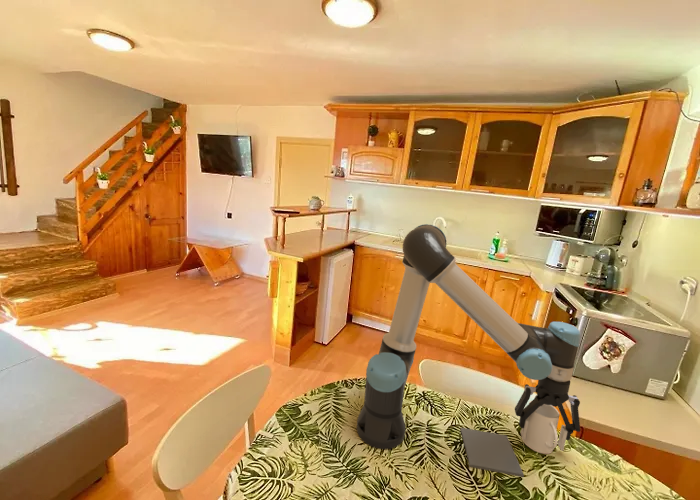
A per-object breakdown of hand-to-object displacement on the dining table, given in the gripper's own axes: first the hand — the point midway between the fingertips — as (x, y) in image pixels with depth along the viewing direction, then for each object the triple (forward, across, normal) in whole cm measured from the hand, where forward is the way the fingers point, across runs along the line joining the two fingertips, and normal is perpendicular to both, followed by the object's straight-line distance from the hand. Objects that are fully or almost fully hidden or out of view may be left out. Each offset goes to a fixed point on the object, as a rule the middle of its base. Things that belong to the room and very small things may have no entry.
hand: (541, 441), depth 94 cm
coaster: (+2, -15, -8) cm, 17 cm away
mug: (+2, 0, 0) cm, 2 cm away
